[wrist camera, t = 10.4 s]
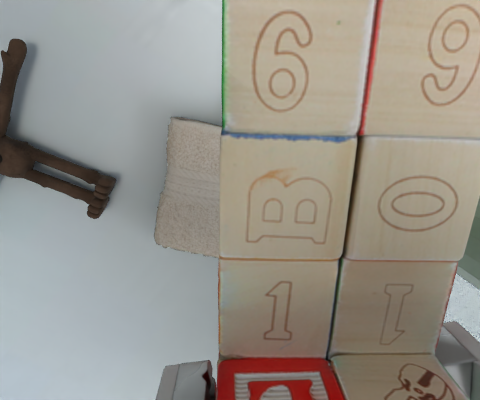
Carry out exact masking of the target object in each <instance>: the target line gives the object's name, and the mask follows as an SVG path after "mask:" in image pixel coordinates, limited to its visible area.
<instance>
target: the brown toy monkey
mask: <svg viewBox="0 0 480 400" xmlns="http://www.w3.org/2000/svg"><path fill="white" fill-rule="evenodd" d="M26 53H27V47H26V44H25V42H24V41H22V40H20V39H12V40H11V41H10V42H9V46H8V50H7V53H6V52H5V51H3V50H2V51H1V57H2V61H3V73H2V78H1V83H0V174H2V175H5V176H8V177H13V178H24V179H27V180H30V181H32V182H35V183H38V184H40V185H41V186H43V187H48V188H51V189H54V190H57V191H59V192H62V193H65V194H67V195H69V196H71V197H73V198H75V199H80V200H83V201H85V202H86V203H87V204H90V205H89V206H88V211H87V215H88V216H89V217H91V218H93V219H97V218H99V217H100V215H101V214H102V212H103V211H104V209H105V208H106V206H107V203H108V201H109V197H108V195H109V194H110V192H111V191H112V189H113V187H114V185H115V182H116V179H115V178H113V177H110V176H105V175H102V174H99V173H98V171H96V170H92V169H87V168H84V167H82V166H79V165H77V164H74V163H72V162H69V161H67V160H64V159H62V158H59V157H57V156H54V155H52V154H49V153H47V152H44V151H41V150H39V149H36V148H34V147H33V146H32V145H30V144H28V143H27V142H22V141H18V140H15V139H13V138H10V137H8V136H7V135H6V131H7V127H8V124H9V122H10V113H11V107H12V102H13V97H14V92H15V87H16V82H17V79H18V75H19V72H20V70H21V67H22V64H23V62H24V60H25V57H26ZM35 161H37V162H40V163H42V164H45V165H47V166H50V167H52V168H55V169H58V170H60V171H63V172H65V173H68V174H70V175H73V176H75V177H78V178H80V179H82V180H84V181H86V182H87V183H89V184H95V185H96V186H95V191H94V192H92V191H90V190H87V189H85V188H82V187H79V186H77V185H74V184H71V183H69V182H66V181H63V180H61V179H58V178H55V177H53V176H50V175H47V174H45V173H42V172H39V171H37V170H34V169H33V167H34V164H35Z"/></svg>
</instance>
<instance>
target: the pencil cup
mask: <svg viewBox="0 0 480 400" xmlns="http://www.w3.org/2000/svg"><path fill="white" fill-rule="evenodd" d="M456 273H457V274H458V275H459V276H461V277H462V278H464V279H465V280H466V281H468V282H469V283H470V284H472V285H473V286H475V287H476V288H477V289H479V290H480V197H479V201H478V204H477V208H476V212H475V216H474V219H473V223H472V227H471V230H470V234H469V238H468V241H467V245H466V249H465V252H464V255H463V258H462V259H460V260H459V261H458V265H457V271H456Z"/></svg>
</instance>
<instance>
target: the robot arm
mask: <svg viewBox="0 0 480 400" xmlns="http://www.w3.org/2000/svg"><path fill="white" fill-rule="evenodd" d="M435 356H436V357H437V359H438V360H439V361H440V362H441V364H442V365H443V366H444V367H445V369H446V370H447V371H448V372H449V374H450V375H451V376H452V378H453V379H454V380H455V381H456V383H457V384H458V385H459V387H460V388H461V389H462V390H463V392H464V393H465V394H466V395H467V397H468V398H469V399H470V400H480V343H479V342H478V341H477V340H476V339H475V338H474V337H473V336H472V335H471V334H470V333H469V332H467V331H466V330H465V329H464V328H463V327H462V326H461V325H460V324H459V323H457V322H455V321H453V322H447V323H443V325H442V329H441V333H440V336H439V341H438V345H437V348H436V351H435ZM216 395H217V387H216V382H215V379H214V378H212V365H211V361H210V360H205V361H198V362H190V363H182V364H177V365H169V366H166V367H165V368H164V370H163V373H162V377H161V381H160V385H159V389H158V393H157V396H156V400H216Z"/></svg>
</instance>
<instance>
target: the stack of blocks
mask: <svg viewBox="0 0 480 400" xmlns="http://www.w3.org/2000/svg"><path fill="white" fill-rule="evenodd" d="M219 177H220V196H219V268H218V277H219V282H218V309H219V360H218V362H217V395H216V400H470V399H469V398H468V397H467V395H466V394H465V393H464V392H463V390H462V389H461V388H460V387H459V385H458V384H457V383H456V381H455V380H454V379H453V378H452V376H451V375H450V374H449V372H448V371H447V370H446V369H445V367H444V366H443V365H442V364H441V362H440V361H439V360H438V359H437V357H436V356H435V351H436V348H437V345H438V341H439V336H440V333H441V329H442V325H443V321H444V317H445V313H446V309H447V305H448V301H449V297H450V294H451V290H452V286H453V282H454V279H455V275H456V271H457V265H458V261H459V260H460V259H462V258H463V255H464V252H465V249H466V245H467V241H468V238H469V234H470V230H471V227H472V223H473V219H474V216H475V212H476V208H477V204H478V201H479V197H480V0H222V131H221V135H220V163H219Z"/></svg>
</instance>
